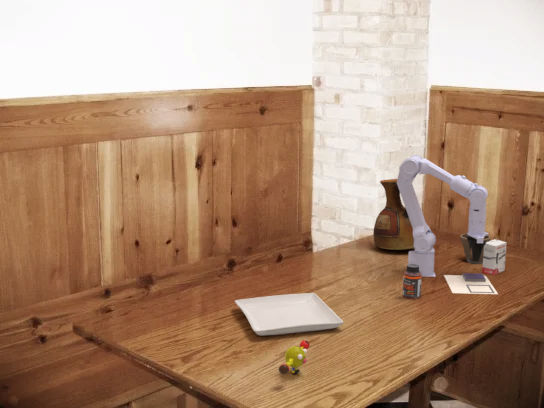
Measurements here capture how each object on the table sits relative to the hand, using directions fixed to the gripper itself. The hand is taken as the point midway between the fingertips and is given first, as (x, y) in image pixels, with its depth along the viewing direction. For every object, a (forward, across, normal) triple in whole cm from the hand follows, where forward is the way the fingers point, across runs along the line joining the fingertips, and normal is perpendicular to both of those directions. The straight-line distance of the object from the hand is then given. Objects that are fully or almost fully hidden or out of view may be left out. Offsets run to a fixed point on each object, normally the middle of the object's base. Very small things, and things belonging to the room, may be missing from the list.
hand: (475, 257), depth 242 cm
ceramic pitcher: (+9, +41, +24) cm, 48 cm away
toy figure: (+9, -79, +59) cm, 99 cm away
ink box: (+9, +10, -9) cm, 16 cm away
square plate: (+9, -43, +64) cm, 78 cm away
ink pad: (+8, 0, 0) cm, 8 cm away
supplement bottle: (+9, -20, +24) cm, 32 cm away
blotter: (+8, -6, +2) cm, 11 cm away
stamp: (+2, 0, 0) cm, 2 cm away
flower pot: (+9, +26, -5) cm, 28 cm away
